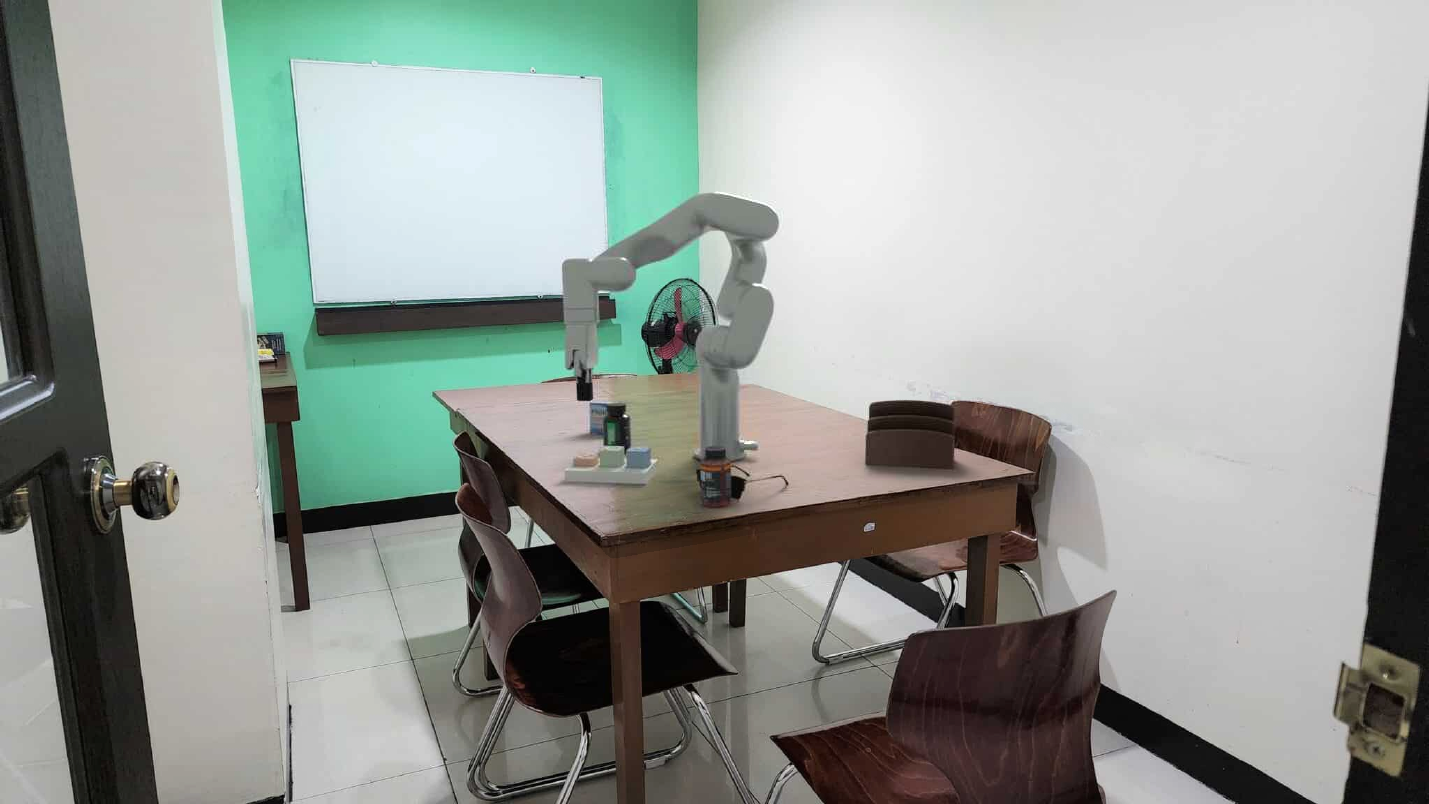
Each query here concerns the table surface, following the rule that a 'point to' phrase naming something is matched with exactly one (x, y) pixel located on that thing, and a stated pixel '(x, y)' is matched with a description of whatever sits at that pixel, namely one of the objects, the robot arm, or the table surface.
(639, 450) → the blue pull-out drawer
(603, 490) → the table surface
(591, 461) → the pink three-dot die
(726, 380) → the robot arm
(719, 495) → the supplement bottle
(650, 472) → the board
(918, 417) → the letter holder
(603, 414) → the medicine box
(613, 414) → the supplement bottle
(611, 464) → the pale green cube
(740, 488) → the sunglasses
